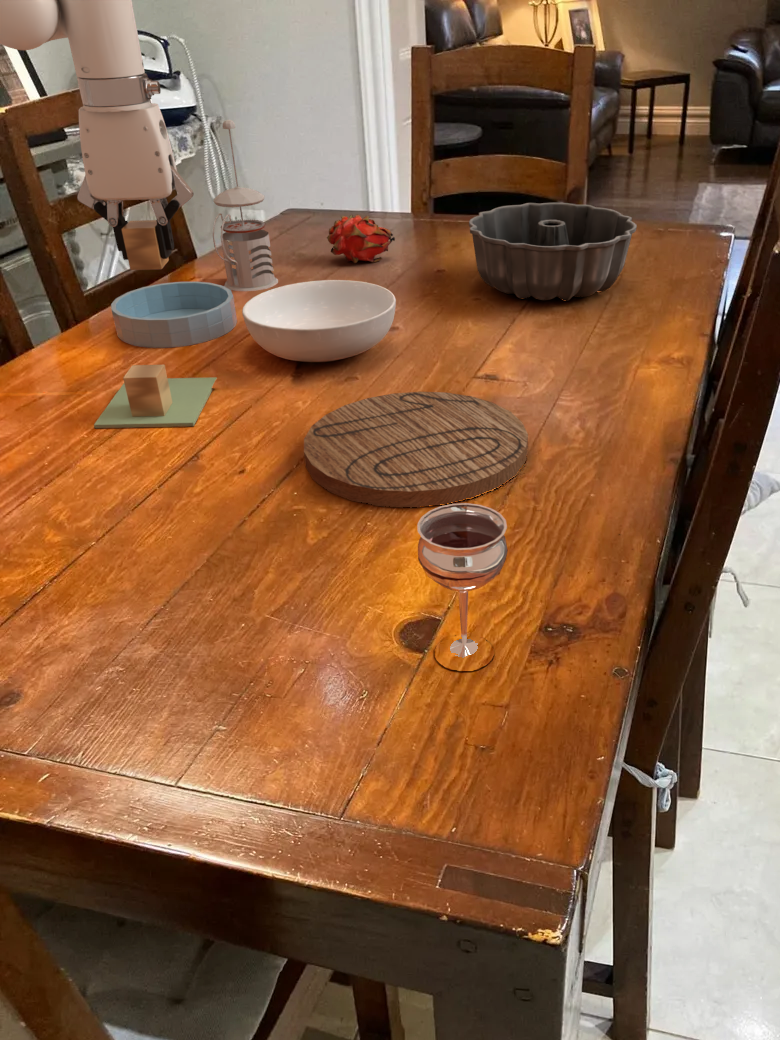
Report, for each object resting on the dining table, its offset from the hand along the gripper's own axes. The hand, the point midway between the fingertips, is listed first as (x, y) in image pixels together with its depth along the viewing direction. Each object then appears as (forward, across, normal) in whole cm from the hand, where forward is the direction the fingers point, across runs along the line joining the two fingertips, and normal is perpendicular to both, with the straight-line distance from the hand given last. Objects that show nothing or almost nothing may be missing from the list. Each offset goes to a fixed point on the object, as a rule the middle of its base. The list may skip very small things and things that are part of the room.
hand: (147, 254), depth 118 cm
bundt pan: (+15, -55, -32) cm, 65 cm away
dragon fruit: (+15, -23, -49) cm, 57 cm away
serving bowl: (+15, -20, -5) cm, 26 cm away
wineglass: (+15, -38, +63) cm, 75 cm away
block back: (+1, 0, 0) cm, 1 cm away
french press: (+15, -5, -36) cm, 39 cm away
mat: (+15, -1, +11) cm, 19 cm away
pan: (+15, +2, -16) cm, 22 cm away
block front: (+15, -1, +14) cm, 21 cm away
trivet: (+15, -34, +27) cm, 46 cm away
